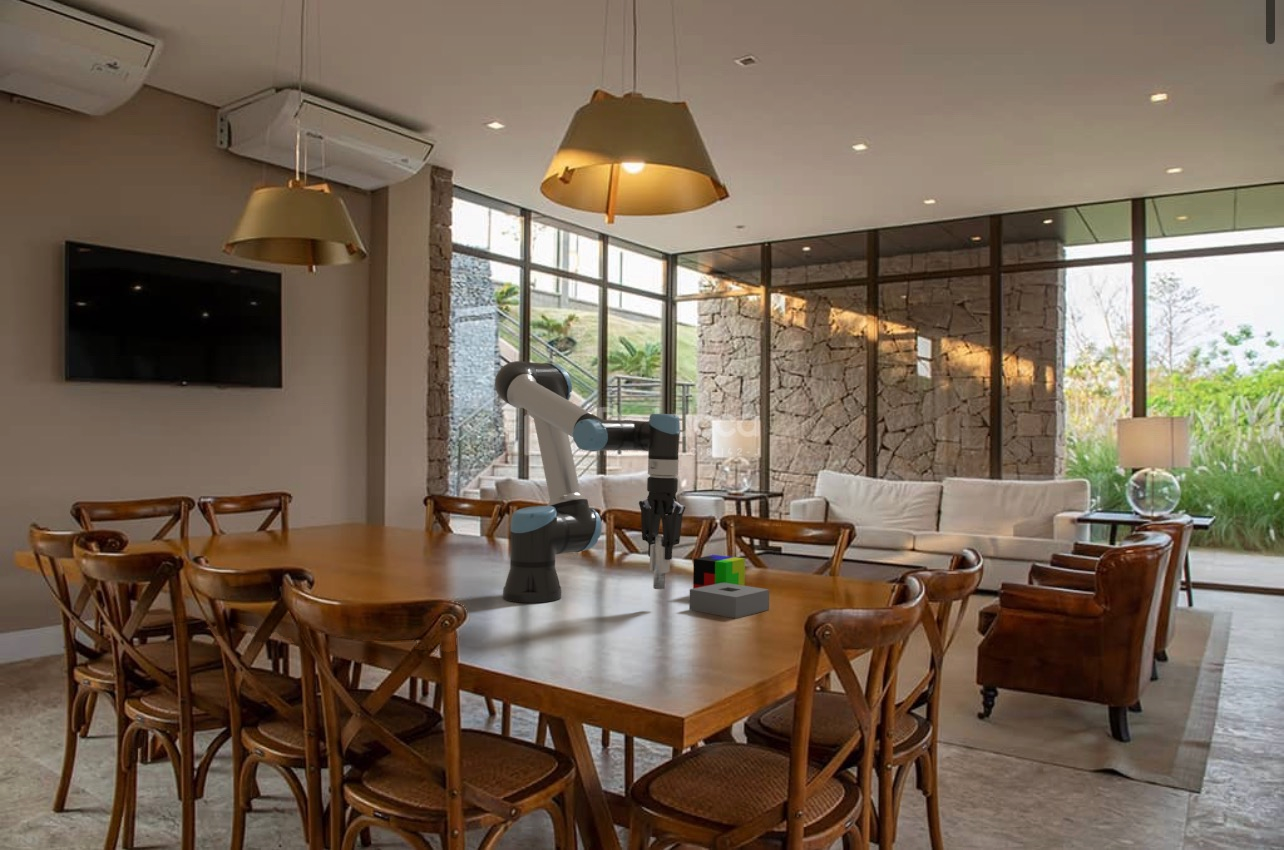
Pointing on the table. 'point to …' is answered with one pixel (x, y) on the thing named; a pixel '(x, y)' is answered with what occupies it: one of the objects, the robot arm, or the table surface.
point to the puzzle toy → (718, 570)
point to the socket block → (729, 600)
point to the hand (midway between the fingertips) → (659, 571)
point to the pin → (658, 564)
